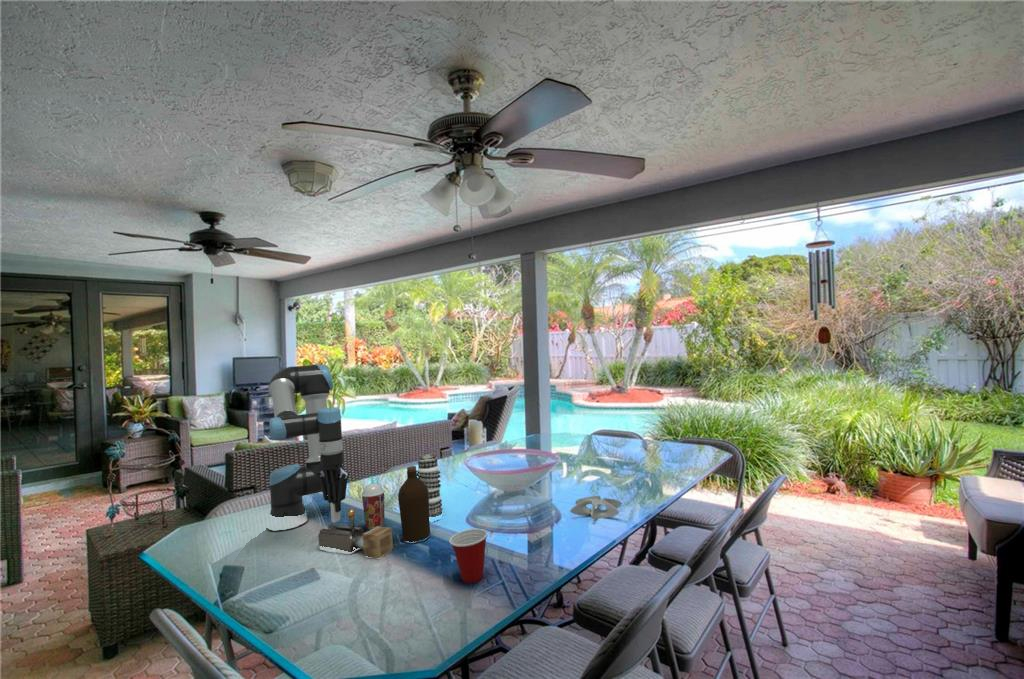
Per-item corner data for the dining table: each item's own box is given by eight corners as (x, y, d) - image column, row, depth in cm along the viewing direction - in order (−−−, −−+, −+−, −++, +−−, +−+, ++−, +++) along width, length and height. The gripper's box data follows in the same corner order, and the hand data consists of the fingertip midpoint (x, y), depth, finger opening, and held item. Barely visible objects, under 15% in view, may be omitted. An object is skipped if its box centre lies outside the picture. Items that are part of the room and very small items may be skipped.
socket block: (364, 557, 149) (362, 534, 150) (378, 548, 156) (377, 526, 156) (378, 559, 147) (377, 535, 147) (393, 550, 153) (391, 527, 154)
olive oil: (428, 543, 157) (423, 469, 158) (397, 545, 157) (392, 472, 158) (434, 531, 167) (429, 462, 168) (405, 533, 167) (400, 464, 168)
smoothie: (391, 526, 177) (387, 473, 178) (376, 534, 169) (372, 479, 170) (374, 524, 180) (371, 472, 181) (359, 532, 173) (355, 478, 173)
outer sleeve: (319, 550, 158) (318, 530, 158) (333, 543, 164) (332, 524, 164) (350, 555, 152) (349, 534, 152) (364, 547, 158) (363, 527, 158)
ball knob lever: (342, 548, 155) (340, 510, 156) (350, 543, 159) (348, 507, 159) (380, 552, 149) (377, 513, 149) (387, 548, 152) (385, 509, 153)
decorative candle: (415, 522, 178) (410, 457, 179) (428, 514, 187) (423, 452, 188) (435, 524, 175) (430, 457, 176) (448, 515, 183) (443, 452, 184)
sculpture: (604, 529, 157) (602, 510, 157) (560, 517, 172) (559, 499, 172) (633, 514, 168) (632, 497, 168) (590, 504, 183) (589, 488, 184)
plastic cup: (449, 574, 133) (446, 532, 133) (486, 566, 136) (482, 525, 136) (455, 591, 122) (452, 545, 123) (495, 582, 125) (491, 538, 126)
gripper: (309, 454, 159) (313, 523, 159) (337, 455, 154) (342, 526, 153) (326, 449, 166) (330, 515, 165) (353, 450, 161) (358, 518, 160)
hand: (336, 520), depth 159 cm, fingers closed
